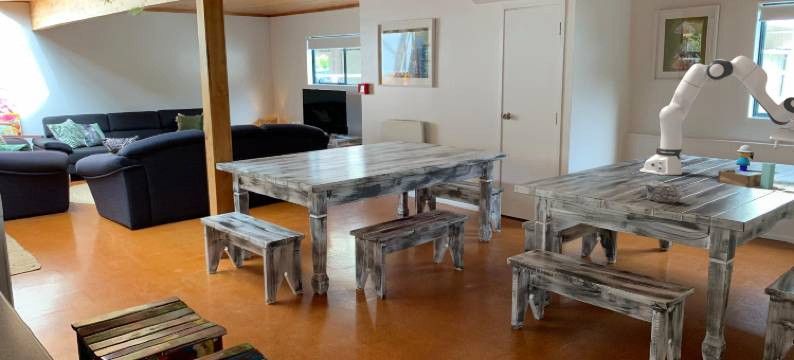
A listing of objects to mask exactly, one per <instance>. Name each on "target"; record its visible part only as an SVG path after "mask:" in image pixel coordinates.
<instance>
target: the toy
mask: <svg viewBox="0 0 794 360" xmlns="http://www.w3.org/2000/svg"><path fill="white" fill-rule="evenodd" d="M736 151H737V152H738V156H739V158H738V159H737V161H736V164H735V165H737V166H739V171H740V172H747V171H748V166H751V163H750V159H751V160H754V156H755V155H754V154H755V150H753V149H752V147H751V146H750V145H748V144H744V145H741V146H740V147H739V149H737V150H736ZM749 158H750V159H749Z"/></svg>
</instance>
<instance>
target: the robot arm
mask: <svg viewBox="0 0 794 360" xmlns="http://www.w3.org/2000/svg"><path fill="white" fill-rule="evenodd" d="M729 76H733V77H735V78H737V79H738V81H740V82H741V83H743V85H744V86H745V87H746V89H748V91H749V94H750V95H751V96H752V98H753V99H754V100H755V102H757V103H758V104H759V106H760V107H761V108H762V109H763V110H764V111H765V113H766V114H767V115H768V117H769V119H770V120H771V122H772V123H774V124H775V125H778V126H784V125H785V126H786V125H788V124H789V123H790V124H789V126H788V127H779V128H776V129H775V131H774V132H773V133H771V135H770V137H769V140H770V142H771V144H774V146H773V149H774V150H777V151H778V150H779V148H780V146H779V145H787V146H788V145H789V146H794V97H793V96H791V97H787V98H785V99H784V100H783V101H782V102H780V104H777V103H776V102H775V100H774V99H773V98H772V97H771V96H770V95H769V94H768V93H767V89H766V87H767V82H768V78H769V77H768V73H767V72H766V71H765V70H764V69H763V68H762V66H760V65H758V63H756V62H755V61H754V60H752V59H751V58H749V57H747V56H746V55H738V56H736V57H735V58H733V59H732V60H731V61H729V60H728V59H725V58H717V59H714V60H713V61H711V62H709V63H708V64H706V65H705V64H703V63H694V64H692V65H691V66H690V68H689V69H688V70H687V71H686V73H685V74H684V76H683V78H682V79H681V81H680V82H679V84H678V85H677V87H676V89H675V91H674V92H673V93H674V94H673V96H672V98H671V101H670V102H669V104H668V105H666V106H664V107H663V108H661V110H660V111H659V115H658V116H659V123H660V125H659V127H660V142H659V143H660V144H659V145H660V146H659V147H658V148H657V149H655V154H654V155H652V156H651V157H649V158H648V159H646V161H645V163H644V166H643V167H642V168H640V169H639V172H641V173H647V174H648V173H649V174H655V175H661V176H670V175H671V176H676V175H677V176H678V175H682V174H683V171H682V162H681V161H682V160H681V159H682V155H683V149H682V144H683V143H682V142H683V132H682V122H683V121H684V120H685V119H686V117H687V115H688V113H689V112H690V110H691V108H692V105H693V103H694V101H695V100H696V98H697V96H698V95H699V93H700V91H701V90H702V88H703V86H704V84H705V83H706V82H707V81H708V80H709V79H710V80H712V81H721V80H725V79H726V78H727V77H729ZM792 152H794V148H793V149H792Z"/></svg>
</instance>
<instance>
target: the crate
mask: <svg viewBox="0 0 794 360" xmlns="http://www.w3.org/2000/svg"><path fill="white" fill-rule="evenodd" d="M717 172H718V173H717V183H721V184H726V185H732V186H735V187H736V186H738V187H744V188H754V187H757V186H759V185H760V183H761V173H757V174H750V175H746V174H739V173H736V169H734V168H732V169H725V170H719V171H717Z"/></svg>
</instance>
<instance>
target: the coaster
mask: <svg viewBox="0 0 794 360" xmlns="http://www.w3.org/2000/svg"><path fill="white" fill-rule="evenodd" d="M755 189H759V190H760V189H761V190H768V191H772V193H774V192H775V190H776V189H778V186H773V188H763V187H760V185H759V186H755Z"/></svg>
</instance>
